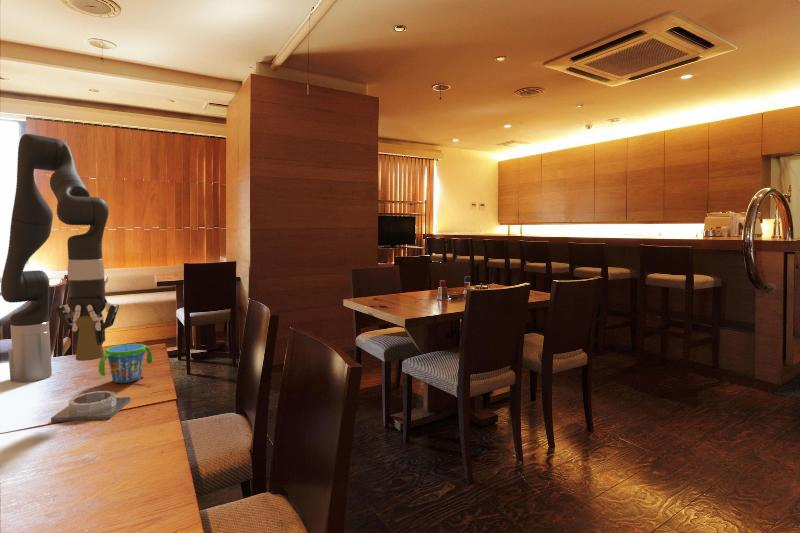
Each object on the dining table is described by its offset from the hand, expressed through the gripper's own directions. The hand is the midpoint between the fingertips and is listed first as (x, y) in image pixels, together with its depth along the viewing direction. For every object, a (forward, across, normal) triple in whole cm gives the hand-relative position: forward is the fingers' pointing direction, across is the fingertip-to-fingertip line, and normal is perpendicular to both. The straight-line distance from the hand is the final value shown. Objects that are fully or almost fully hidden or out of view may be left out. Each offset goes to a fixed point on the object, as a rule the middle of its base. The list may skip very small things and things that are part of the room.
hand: (89, 344), depth 115 cm
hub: (+17, 0, 0) cm, 17 cm away
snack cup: (+17, +2, -24) cm, 30 cm away
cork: (+3, 0, 0) cm, 3 cm away
